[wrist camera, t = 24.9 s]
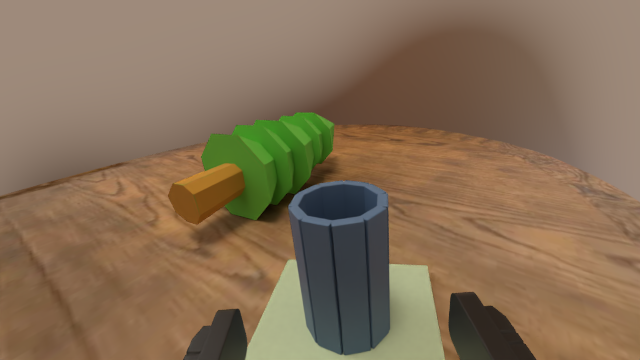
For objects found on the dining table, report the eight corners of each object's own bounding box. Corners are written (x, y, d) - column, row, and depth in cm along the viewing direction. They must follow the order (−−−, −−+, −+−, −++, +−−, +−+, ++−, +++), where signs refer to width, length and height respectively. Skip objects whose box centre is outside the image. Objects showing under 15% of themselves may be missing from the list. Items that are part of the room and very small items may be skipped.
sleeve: (298, 350, 19) (276, 225, 16) (316, 285, 24) (303, 180, 21) (390, 360, 18) (388, 226, 14) (389, 289, 23) (387, 179, 20)
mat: (227, 401, 17) (225, 394, 17) (288, 264, 28) (288, 259, 28) (457, 436, 15) (458, 429, 14) (427, 271, 25) (427, 265, 25)
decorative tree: (143, 131, 29) (315, 80, 52) (155, 217, 36) (303, 139, 58) (229, 188, 25) (374, 106, 48) (225, 272, 32) (354, 166, 54)
